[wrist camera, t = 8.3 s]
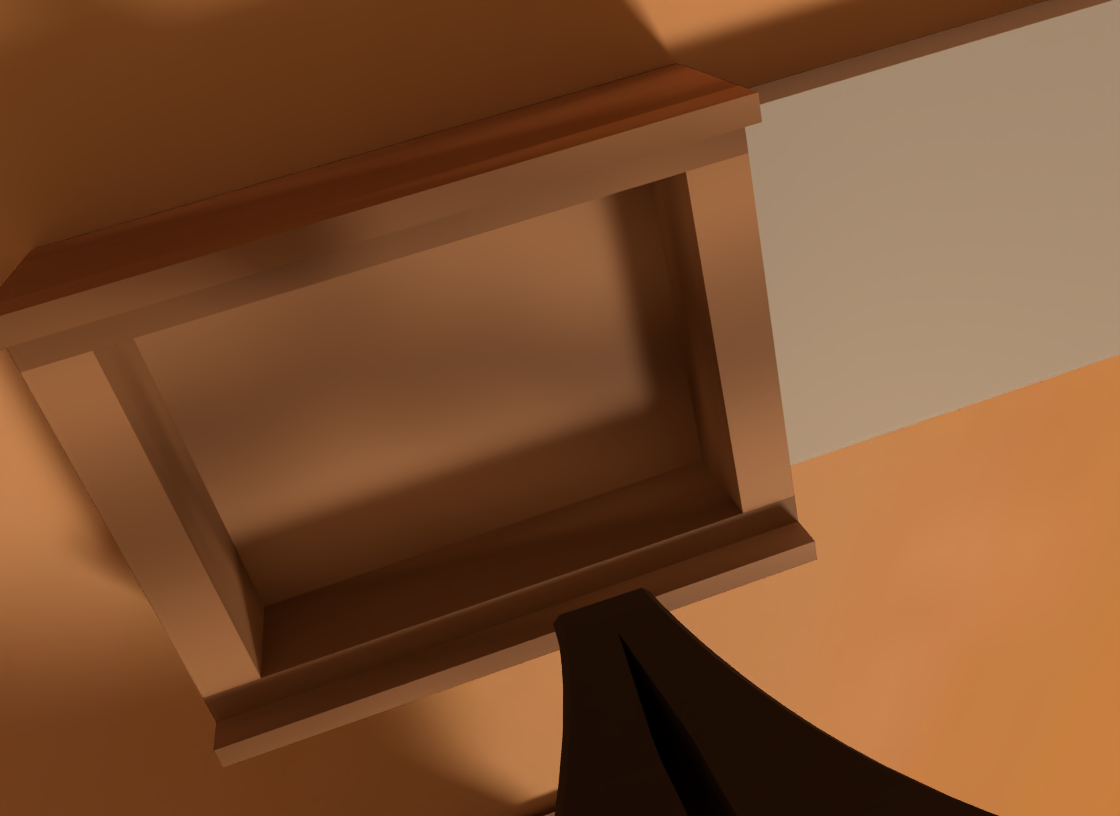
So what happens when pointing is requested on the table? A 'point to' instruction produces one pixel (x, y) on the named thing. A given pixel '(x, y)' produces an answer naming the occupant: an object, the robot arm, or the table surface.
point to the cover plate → (941, 220)
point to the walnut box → (426, 399)
